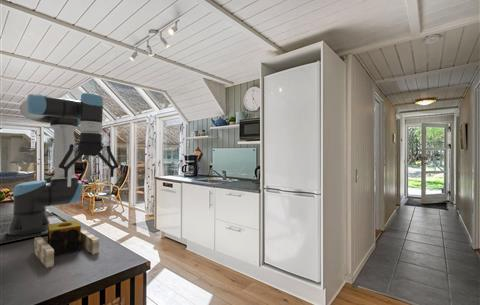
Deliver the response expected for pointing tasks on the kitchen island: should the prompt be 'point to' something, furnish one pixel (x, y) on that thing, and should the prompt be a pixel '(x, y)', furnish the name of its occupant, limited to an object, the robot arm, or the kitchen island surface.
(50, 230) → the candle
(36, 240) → the rail
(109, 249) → the kitchen island surface
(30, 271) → the kitchen island surface
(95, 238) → the rail
